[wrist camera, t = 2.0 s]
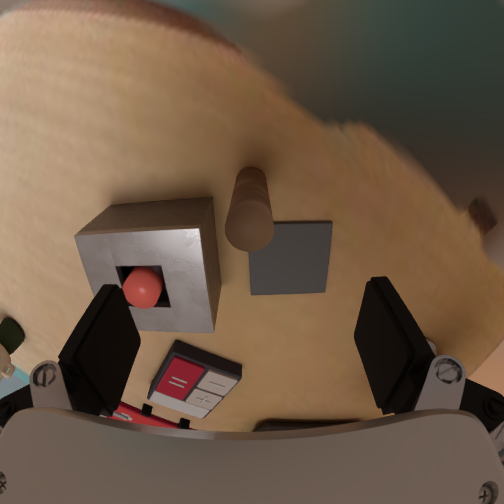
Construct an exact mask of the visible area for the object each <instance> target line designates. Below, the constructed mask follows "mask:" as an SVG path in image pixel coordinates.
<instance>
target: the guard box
mask: <svg viewBox="0 0 504 504" xmlns="http://www.w3.org/2000/svg"><path fill="white" fill-rule="evenodd" d="M74 238H75V241H76V244H77V248H78V251H79V254H80V257H81V260H82V263H83V266H84V269H85V272H86V275H87V278H88V281H89V284H90V286H91V289H92V292H93V294H94V297H95V296H96V294H97V293H98V291H99V290H100V288H101V287H102V285H103V284H117V285H118V286H119V287H120V288H123V284H124V282H125V281H126V279H127V278H128V276H129V275H130V273H131V271H132V270H133V268H134V267H135V266H150V265H159V266H161V267H162V271H163V275H164V279H165V284H164V287H163V289H162V291H161V293H160V296H159V298H158V300H157V303H156V304H155V305H154V306H153V307H151V308H148V309H142V308H138V307H135V306H133V305H132V304H131V303H129V302H128V301H127V303H128V306H129V309H130V311H131V314H132V317H133V320H134V322H135V325H136V328H137V330H143V331H161V332H190V333H214V330H215V324H216V317H217V311H218V304H219V298H220V292H221V278H220V269H219V260H218V250H217V240H216V230H215V220H214V209H213V197H211V198H193V199H178V200H165V201H152V202H141V203H130V204H120V205H111V206H109V207H108V208H106V209H105V210H104V211H103V212H101V213H100V214H99V215H98V216H97V217H95V218H94V219H93V220H92V221H91V222H89V223H88V224H87V225H86V226H85V227H84V228H82V229H81V230H80V231H79V232H78V233H77V234H76V235H74ZM126 300H127V299H126Z"/></svg>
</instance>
